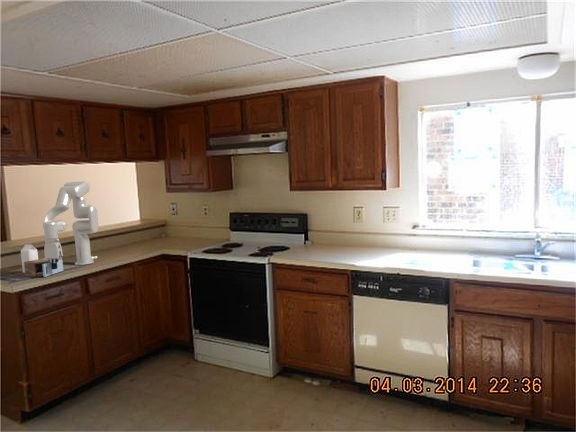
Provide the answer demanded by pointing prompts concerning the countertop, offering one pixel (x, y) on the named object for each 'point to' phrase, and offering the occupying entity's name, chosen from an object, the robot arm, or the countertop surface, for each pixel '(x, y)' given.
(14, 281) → the countertop surface
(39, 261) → the walnut cabinet
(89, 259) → the robot arm
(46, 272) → the cabinet door
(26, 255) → the milk carton
